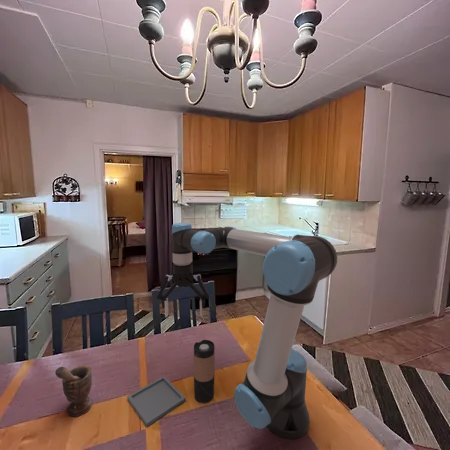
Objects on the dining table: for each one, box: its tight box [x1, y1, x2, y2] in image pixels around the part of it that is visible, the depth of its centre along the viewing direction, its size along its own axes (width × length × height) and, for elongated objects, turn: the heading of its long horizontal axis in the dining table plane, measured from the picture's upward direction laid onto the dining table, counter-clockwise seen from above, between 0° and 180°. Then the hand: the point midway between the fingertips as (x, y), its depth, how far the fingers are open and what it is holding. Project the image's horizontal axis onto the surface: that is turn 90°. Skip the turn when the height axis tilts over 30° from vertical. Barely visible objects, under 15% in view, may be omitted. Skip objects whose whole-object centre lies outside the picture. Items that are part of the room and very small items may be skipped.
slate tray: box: [127, 375, 187, 428], centre depth 91 cm, size 15×15×2 cm
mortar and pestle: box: [54, 365, 93, 418], centre depth 85 cm, size 12×9×20 cm
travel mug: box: [193, 339, 216, 404], centre depth 93 cm, size 8×8×20 cm
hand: (184, 315), depth 100 cm, fingers open, 13 cm apart
